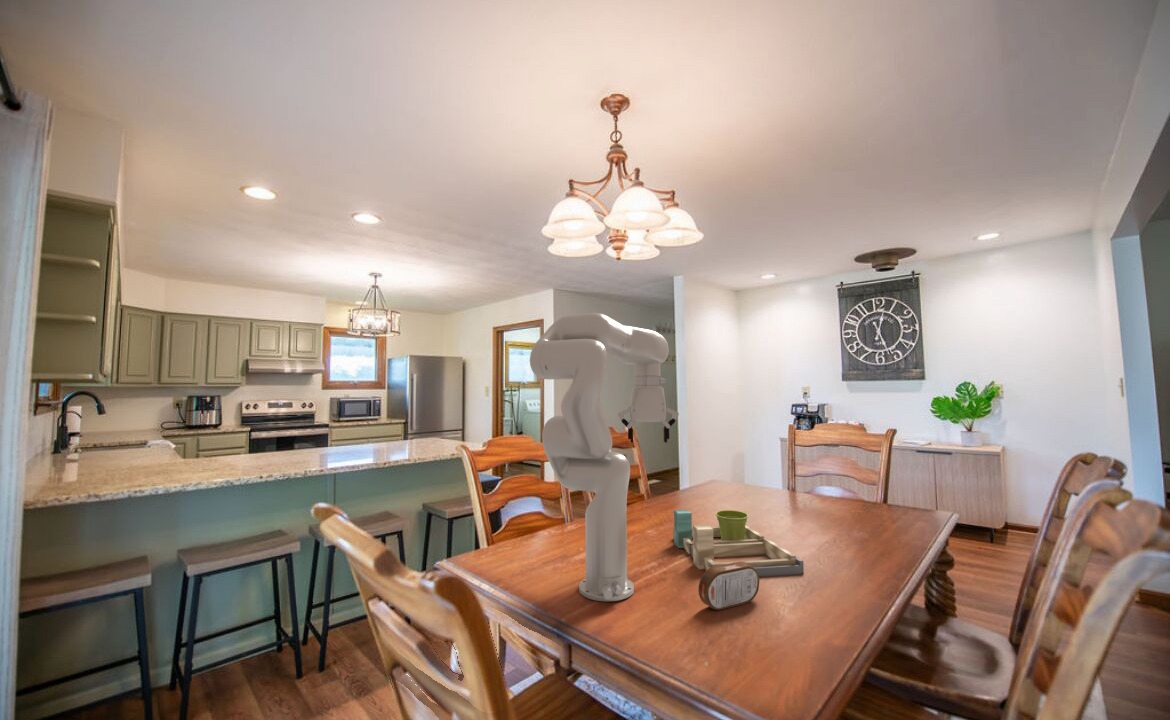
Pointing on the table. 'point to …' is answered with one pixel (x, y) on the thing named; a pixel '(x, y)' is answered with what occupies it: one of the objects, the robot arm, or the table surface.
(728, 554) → the frame
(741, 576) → the tin
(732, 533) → the plant pot
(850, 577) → the table surface
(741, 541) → the pot
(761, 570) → the rack
